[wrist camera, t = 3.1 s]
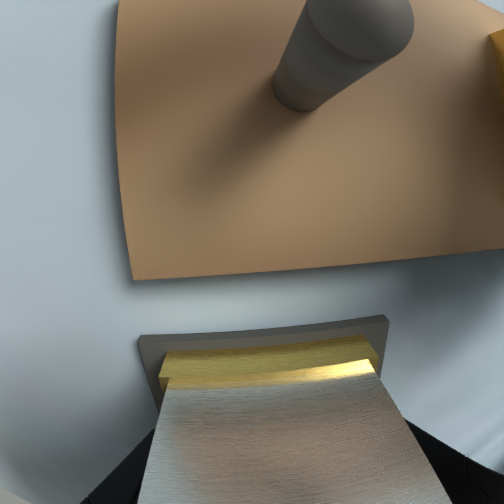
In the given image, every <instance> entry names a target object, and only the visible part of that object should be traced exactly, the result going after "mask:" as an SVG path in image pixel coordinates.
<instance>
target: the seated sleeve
mask: <svg viewBox="0 0 504 504" xmlns="http://www.w3.org/2000/svg"><path fill="white" fill-rule="evenodd" d="M489 36H490V40H491V44H492V48H493V52H494V56H495V61H496V66H497V71H498V76H499V82H500V88H501V94H502V101H503V109H504V29H501V30H499V31H496V32H493V33H491V34H489Z"/></svg>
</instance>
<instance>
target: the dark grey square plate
mask: <svg viewBox="0 0 504 504" xmlns="http://www.w3.org/2000/svg"><path fill="white" fill-rule="evenodd" d="M388 326H389V320H388V319H387V318H386V317H385V316H384V315H378V316H372V317H365V318H358V319H351V320H343V321H335V322H327V323H319V324H310V325H301V326H291V327H281V328H270V329H258V330H245V331H230V332H214V333H193V334H163V335H141V337H140V339H139V341H138V345H139V349H140V352H141V356H142V360H143V363H144V367H145V370H146V373H147V377H148V380H149V383H150V387H151V390H152V393H153V396H154V399H155V402H156V405H157V408H158V411H159V414H160V411H161V407H162V403H163V400H164V395H163V391H162V388H161V384H160V381H159V374H160V371H161V368H162V365H163V362H164V359H165V356H166V353H167V351H187V350H212V349H230V348H245V347H258V346H270V345H281V344H291V343H300V342H309V341H317V340H325V339H333V338H340V337H347V336H354V335H360V334H363V335H364V336H365V338H366V339H367V341H368V342H369V343H370V345H371V346H372V348H373V349H374V351H375V352H376V353H377V355H378V356H379V360H378V366H377V371H376V374H377V376H378V377H379V379H380V374H381V369H382V363H383V358H384V352H385V346H386V339H387V333H388Z"/></svg>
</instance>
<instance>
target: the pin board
mask: <svg viewBox="0 0 504 504" xmlns="http://www.w3.org/2000/svg"><path fill="white" fill-rule="evenodd" d="M501 29H504V14H503V13H501V12H499V11H497V10H495V9H493V8H491V7H489V6H487V5H486V4H484V3H481V2H479V1H477V0H119V6H118V17H117V31H116V50H115V125H116V145H117V160H118V172H119V183H120V193H121V202H122V211H123V219H124V226H125V233H126V240H127V247H128V253H129V259H130V265H131V271H132V276H133V280H149V279H166V278H182V277H197V276H212V275H226V274H240V273H253V272H267V271H279V270H292V269H304V268H316V267H327V266H339V265H350V264H361V263H371V262H382V261H392V260H402V259H412V258H422V257H432V256H441V255H450V254H459V253H468V252H477V251H486V250H494V249H503V248H504V109H503V101H502V94H501V88H500V82H499V76H498V71H497V66H496V61H495V56H494V52H493V48H492V44H491V40H490V36H489V34H491V33H493V32H496V31H499V30H501Z"/></svg>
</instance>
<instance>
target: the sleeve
mask: <svg viewBox="0 0 504 504" xmlns="http://www.w3.org/2000/svg"><path fill="white" fill-rule="evenodd" d="M378 360H379V356H378V355H377V353H376V352H375V351H374V349H373V348H372V346H371V345H370V343H369V342H368V341H367V339H366V338H365V336H364V335H363V334H360V335H354V336H347V337H340V338H333V339H325V340H317V341H309V342H300V343H291V344H281V345H270V346H258V347H245V348H230V349H212V350H187V351H167V353H166V356H165V359H164V362H163V365H162V368H161V371H160V374H159V381H160V384H161V388H162V391H163V395H164V400H163V403H162V407H161V411H160V414H159V418H158V422H157V426H156V429H155V433H154V437H153V441H152V445H151V449H150V453H149V457H148V461H147V465H146V469H145V473H144V477H143V481H142V486H141V490H140V494H139V499H138V503H137V504H452V502H451V500H450V499H449V497H448V495H447V493H446V491H445V489H444V488H443V486H442V484H441V482H440V480H439V479H438V477H437V475H436V473H435V471H434V470H433V468H432V466H431V464H430V463H429V461H428V459H427V457H426V456H425V454H424V452H423V450H422V449H421V447H420V445H419V444H418V442H417V440H416V438H415V437H414V435H413V433H412V432H411V430H410V428H409V427H408V425H407V423H406V421H405V420H404V418H403V416H402V415H401V413H400V411H399V410H398V408H397V406H396V405H395V403H394V402H393V400H392V398H391V397H390V395H389V393H388V392H387V390H386V388H385V387H384V385H383V384H382V382H381V380H380V379H379V377H378V376H377V374H376V371H377V366H378Z"/></svg>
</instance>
